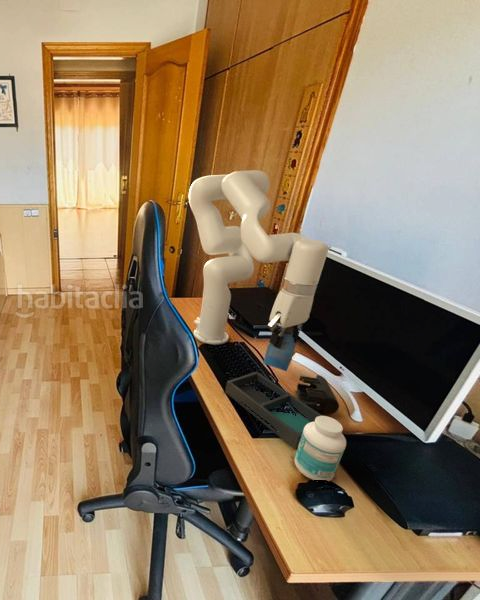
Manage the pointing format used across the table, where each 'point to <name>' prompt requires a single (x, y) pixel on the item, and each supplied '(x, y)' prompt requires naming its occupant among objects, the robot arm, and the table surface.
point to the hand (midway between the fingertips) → (282, 342)
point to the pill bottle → (320, 448)
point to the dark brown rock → (317, 395)
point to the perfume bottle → (281, 351)
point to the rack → (260, 404)
